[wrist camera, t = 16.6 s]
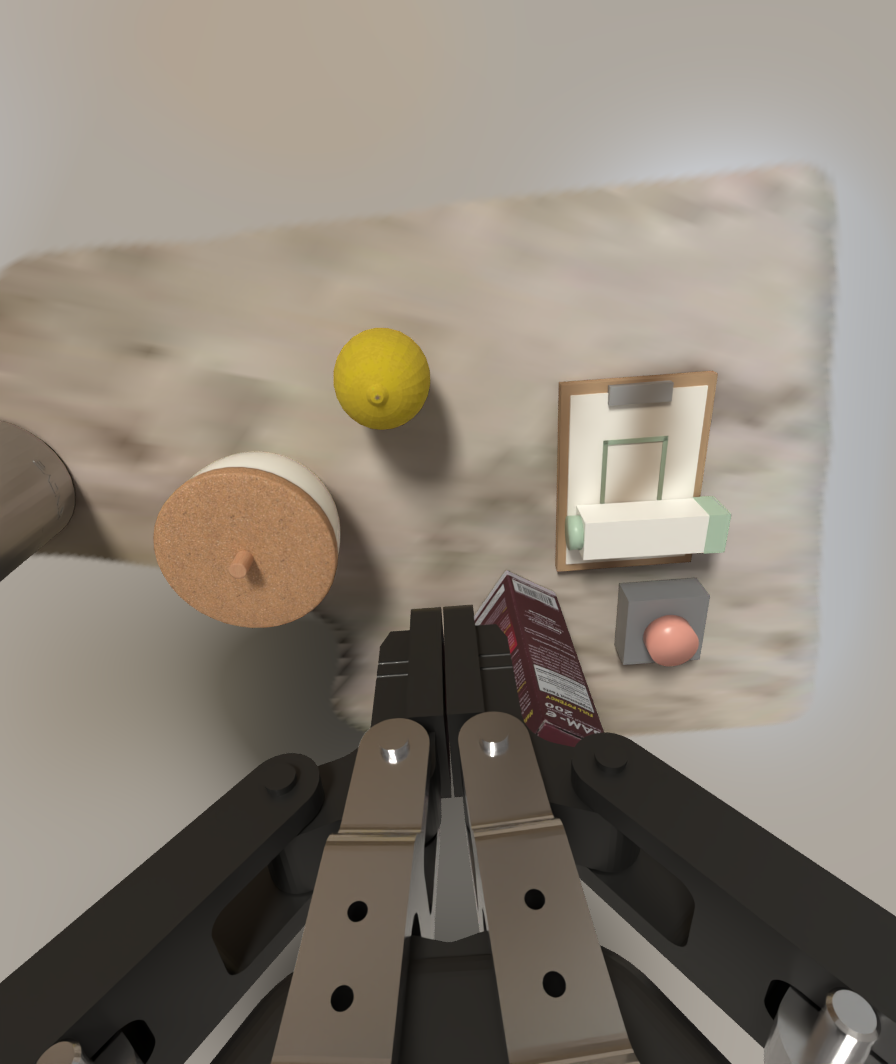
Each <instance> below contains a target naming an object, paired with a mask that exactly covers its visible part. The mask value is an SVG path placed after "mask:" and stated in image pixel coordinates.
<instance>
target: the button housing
mask: <svg viewBox="0 0 896 1064" xmlns="http://www.w3.org/2000/svg"><path fill="white" fill-rule="evenodd" d="M709 599H710V595H709V594H708V592H707V591H706V590H705V588H704V587H703V586H702V584H701V583H700V582H699V580H698V579H697V578H687V579H673V580H659V581H646V582H632V583H619V593H618V606H617V619H616V632H615V644H614V645H615V647H616V649H617V652H618V654H619V656H620V659H621V661H622V663H623V665H628V664H642V663H656V662H655V661H654V660H653V659H652V658H651V656H650V654H649V652H648V650H647V648H646V646H645V644H644V641H643V635H644V631H645V629H646V628H647V626H648V625H649V624H650V623H651V622H653V621H654V620H656V619H657V618H660V617H662V616H666V615H676V616H680V617H682V618H684V619H686V620H687V621H688V623H689V624H690V626H691V627H692V629H693V630H694V632H695V633H696V635H697V637H698V640H699V646H698V649H697V651H696V653H695V654H694V656H693V657H692V658H691V659H689V660H698V659H700V654H701V648H702V642H703V635H704V629H705V623H706V617H707V611H708V605H709Z"/></svg>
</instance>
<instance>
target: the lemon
mask: <svg viewBox="0 0 896 1064" xmlns="http://www.w3.org/2000/svg"><path fill="white" fill-rule="evenodd" d="M429 387H430V370H429V366H428V363H427V360H426V357H425V355H424V354H423V352H422V350H421V349H420V347H419V346H418V345H417V344H416V343H415V342H414V341H413V340H412V339H411V338H410V337H408V336H407V335H405V334H403V333H401V332H400V331H396V330H393V329H389V328H374V329H370V330H365V331H363V332H361V333H359V334H358V335H356V336H354V337H353V338H352V339H351V340H350V341H349V342H348V343H347V344H346V345H345V346H344V347H343V348H342V350H341V352H340V354H339V355H338V357H337V360H336V364H335V368H334V388H335V392H336V396H337V399H338V401H339V403H340V404H341V406H342V408H343V410H344V411H345V412H346V413H347V414H348V415H349V416H350V417H351V418H352V419H353V420H355V421H356V422H358V423H359V424H361V425H363V426H366V427H368V428H372V429H379V430H384V429H393V428H396V427H398V426H401V425H403V424H405V423H406V422H408V421H409V420H411V419H412V418H413V417H414V416H415V415H416V414H417V413H418V412H419V411H420V409H421V408H422V407H423V404H424V402H425V400H426V398H427V396H428V392H429Z"/></svg>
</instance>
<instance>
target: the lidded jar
mask: <svg viewBox="0 0 896 1064" xmlns="http://www.w3.org/2000/svg"><path fill="white" fill-rule="evenodd" d="M153 539H154V550H155V554H156V558H157V562H158V564H159V567H160V569H161V571H162V573H163V575H164V577H165V578H166V580H167V581H168V583H169V584H170V586H171V587H172V588H173V589H174V590H175V592H176V593H177V594H178V595H179V596H180V597H181V598H182V599H183V600H185V601H186V602H187V603H188V604H189V605H191V606H192V607H194V608H195V609H196V610H198V611H199V612H201V613H203V614H205V615H207V616H209V617H211V618H213V619H216V620H218V621H221V622H224V623H227V624H231V625H236V626H241V627H250V628H263V627H273V626H279V625H283V624H286V623H289V622H292V621H294V620H297V619H299V618H301V617H303V616H304V615H306V614H307V613H309V612H310V611H312V610H313V609H314V608H315V607H316V606H317V605H318V604H320V603H321V601H322V600H323V599H324V597H325V596H326V595H327V593H328V591H329V589H330V587H331V585H332V583H333V580H334V577H335V573H336V569H337V562H338V554H339V547H340V523H339V517H338V513H337V509H336V506H335V503H334V501H333V498H332V496H331V494H330V493H329V491H328V490H327V488H326V487H325V485H324V484H323V482H322V481H321V480H320V479H319V478H318V477H317V476H316V475H315V474H314V473H313V472H312V471H311V470H309V469H308V468H307V467H305V466H304V465H302V464H301V463H299V462H297V461H295V460H293V459H291V458H288V457H286V456H283V455H279V454H276V453H269V452H261V451H254V452H242V453H236V454H233V455H230V456H227V457H224V458H222V459H219V460H217V461H215V462H213V463H211V464H209V465H208V466H206V467H204V468H203V469H201V470H200V471H199V472H198V473H196V474H195V475H194V476H193V477H191V478H190V479H189V480H188V481H187V482H185V483H184V484H183V485H182V486H180V487H179V488H178V489H177V490H176V491H175V492H174V493H173V494H172V495H171V496H170V497H169V499H168V500H167V501H166V502H165V503H164V505H163V507H162V509H161V511H160V512H159V514H158V517H157V520H156V524H155V528H154V538H153Z"/></svg>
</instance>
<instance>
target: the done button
mask: <svg viewBox="0 0 896 1064" xmlns="http://www.w3.org/2000/svg"><path fill="white" fill-rule="evenodd" d="M643 641H644V644H645V646H646V648H647V650H648V652H649V654H650V656H651V658H652V659H653V660H654V661H655V662H656V663H658V664H660V665H663V666H676V665H680V664H682V663H685V662H686V661H688V660H689V659H691V658H692V657H693V656H694V654H695V653H696V651H697V649H698V646H699V640H698V637H697V635H696V633H695V632H694V630H693V629H692V627H691V626H690V624H689V623H688V621H687V620H686V619H684V618H682V617H680V616H676V615H666V616H662V617H660V618H657V619H656V620H654V621H653V622H651V623H650V624H649V625H648V626H647V628H646V629H645V631H644V635H643Z"/></svg>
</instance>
